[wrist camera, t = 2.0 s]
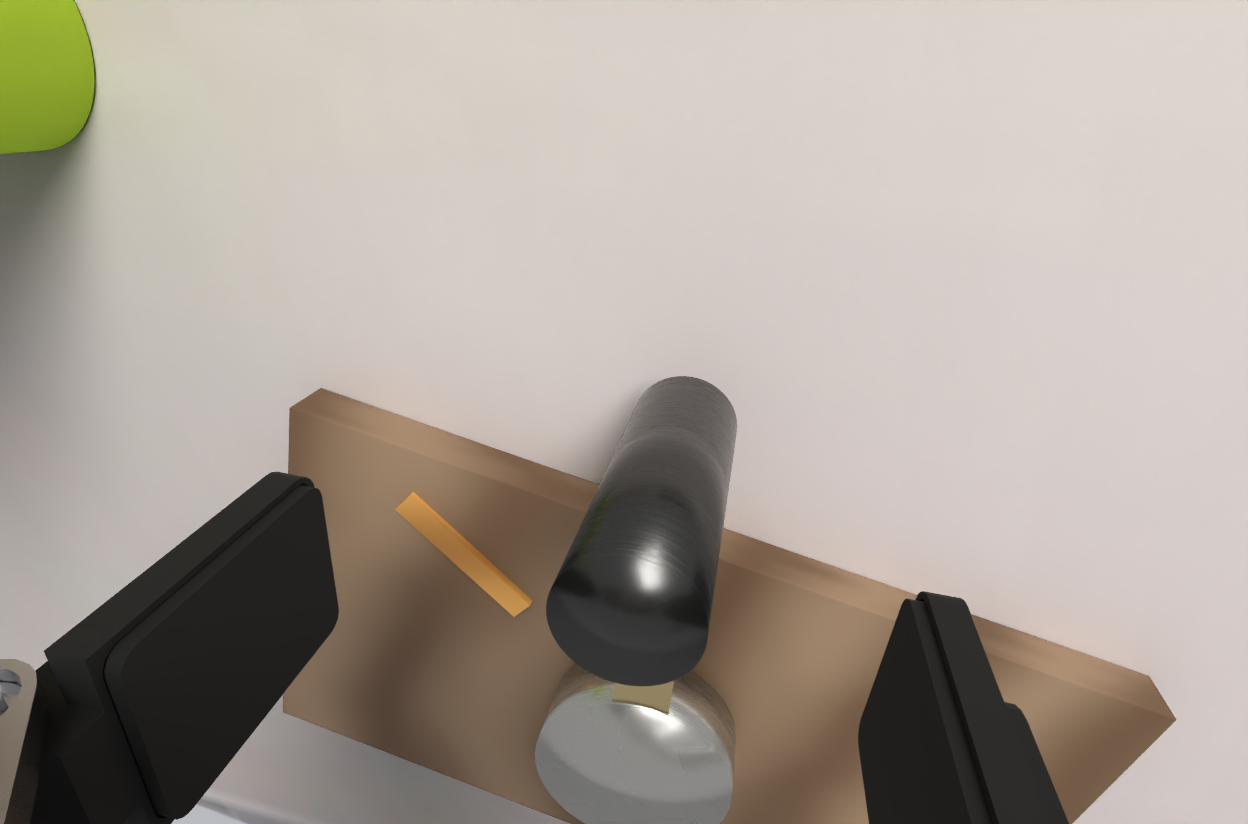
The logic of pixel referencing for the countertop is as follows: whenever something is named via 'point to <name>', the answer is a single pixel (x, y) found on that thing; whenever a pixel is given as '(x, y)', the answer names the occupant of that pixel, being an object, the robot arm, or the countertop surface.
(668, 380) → the ice cream scoop
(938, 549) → the countertop surface
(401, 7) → the countertop surface
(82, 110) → the soap dispenser
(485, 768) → the brown flat rectangular board
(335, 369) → the countertop surface
